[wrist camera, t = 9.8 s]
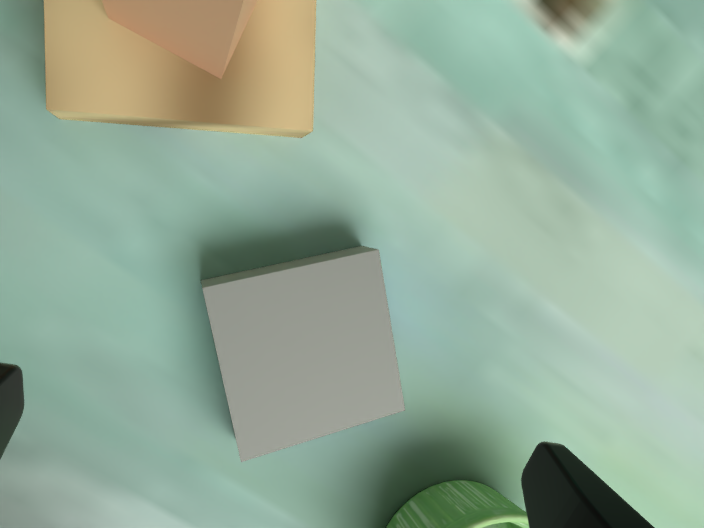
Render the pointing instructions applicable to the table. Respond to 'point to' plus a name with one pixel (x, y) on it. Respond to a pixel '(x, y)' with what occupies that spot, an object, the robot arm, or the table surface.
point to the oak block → (182, 73)
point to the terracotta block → (187, 27)
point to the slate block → (304, 348)
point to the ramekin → (459, 508)
